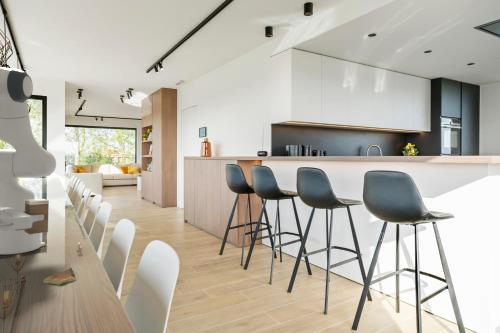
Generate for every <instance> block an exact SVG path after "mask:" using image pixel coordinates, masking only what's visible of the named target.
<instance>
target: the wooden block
mask: <svg viewBox="0 0 500 333" xmlns="http://www.w3.org/2000/svg"><path fill="white" fill-rule="evenodd" d="M49 201H50V200H49V199H45V198H35V199H31V200H25V213H26V214H28V215H36V214H43V215H44V220H41V221H36V222H32V227H31V228H28V229H24V232H26V233H28V234H36V233H40V234H42V233H43V234H44V233H48V232H49V204H50V203H49Z"/></svg>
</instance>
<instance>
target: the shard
mask: <svg viewBox="0 0 500 333" xmlns="http://www.w3.org/2000/svg"><path fill="white" fill-rule="evenodd" d="M42 281H43V283H44V284H50V285H51V284H53V285H57V286H59V285H62V284H65V283H69V282H73V281H76V276H75V272H74V271H73V268H72V267H70V268H68V269H65V270H62V271H59V272H57V273H53V275H50V276H47V277H46V278H44V279H43V280H42Z"/></svg>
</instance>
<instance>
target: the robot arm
mask: <svg viewBox="0 0 500 333" xmlns="http://www.w3.org/2000/svg"><path fill="white" fill-rule="evenodd" d="M33 90H34V85H33V80H32V78H31V76H30V75H29V74H28V73H27V72H26V71H23V70H20V69H16V68H8V67H2V66H0V140H1V141H2V142H4V143H7V144H9V145H10V146H11V147H12V149H5V148H0V255H17V254H23V253H27V252H31V251H36V250H37V249H39V248H40V247H44V246H46V242H44V241H42V240H41V239H42V237H41V236H42V235H41V234H42V233H36V234H28V233H26V232H24V229H28V228H31V227H32V222H36V221H41V220H44V215H43V214H36V215H28V214H26V213H25V200H31V199H36V197H35V193H34V191H33V190H32V189H30V188H28V187H25V186H23V185H22V184H20V182H19V181H18V179H23V178H24V179H29V178H30V179H32V178H33V179H37V178H43V177H49V176H51V175H52V174H53V173H54V171H55V170H56V167H57V161H56V158H55V156H54V155H53V154H52V153H51V152H50V151H48V150H46V149H45V148H44V147H42V145H40V144H39V142H38V141H37V139H36V138H35V137H34V136H35V135H34V134H33V131H32V124H31V119H30V118H31V117H30V111H29V106H28V102H27V101H28V100H29V99H30V98H31V97H32V95H33Z"/></svg>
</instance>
